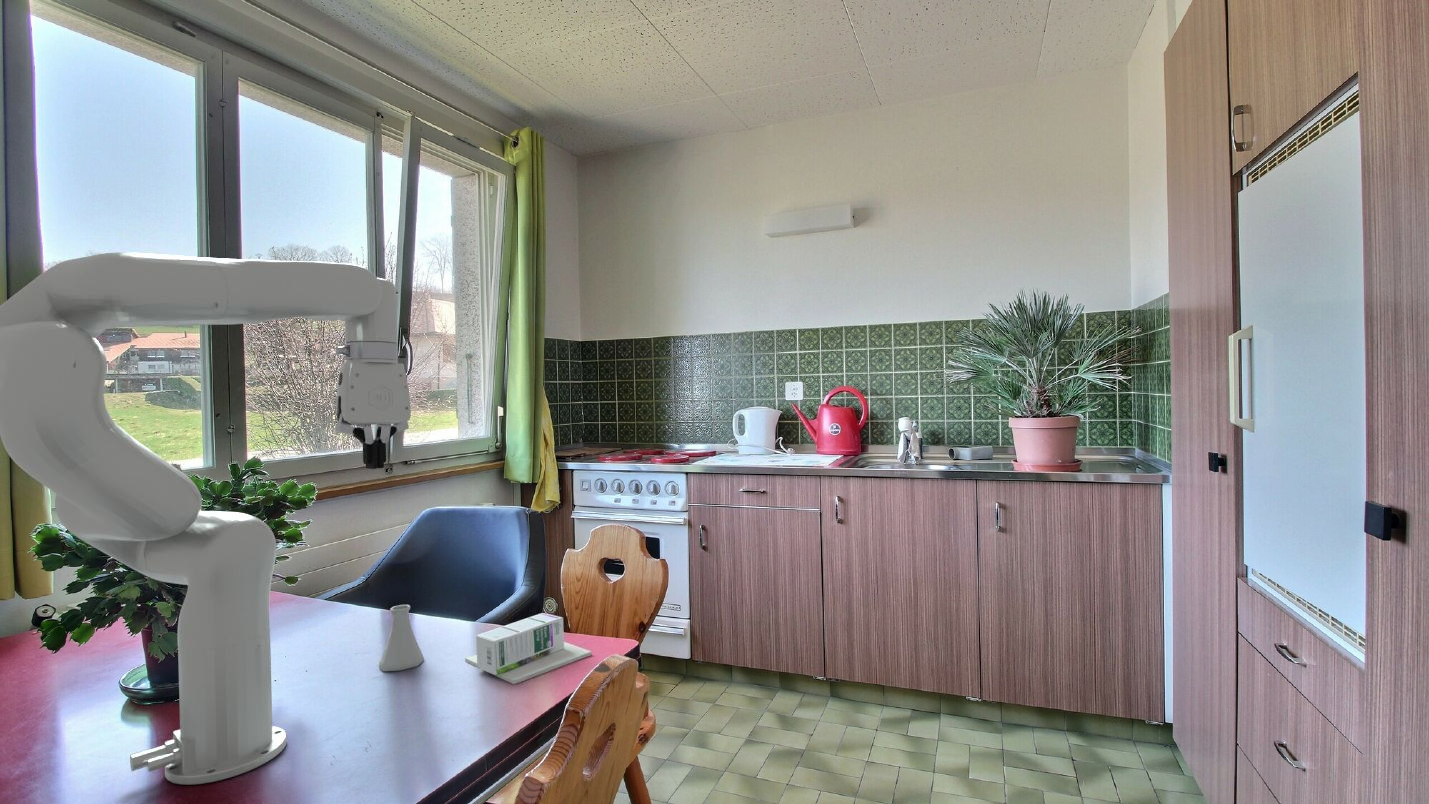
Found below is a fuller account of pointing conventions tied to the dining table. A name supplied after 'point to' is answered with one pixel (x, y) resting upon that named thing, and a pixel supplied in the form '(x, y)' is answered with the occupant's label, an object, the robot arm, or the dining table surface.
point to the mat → (540, 663)
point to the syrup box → (519, 643)
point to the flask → (400, 643)
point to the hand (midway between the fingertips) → (374, 467)
